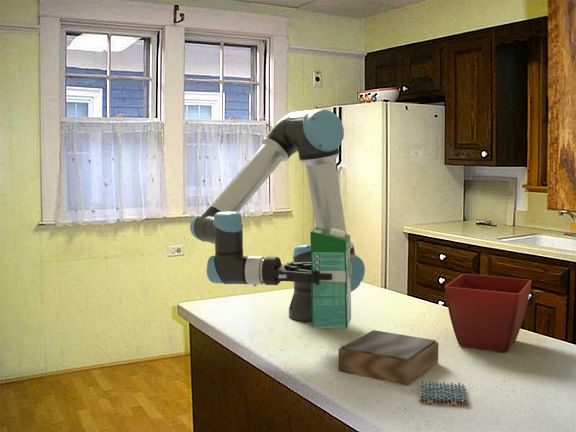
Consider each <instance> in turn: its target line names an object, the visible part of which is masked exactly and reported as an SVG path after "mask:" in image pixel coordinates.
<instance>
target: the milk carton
mask: <svg viewBox="0 0 576 432" xmlns="http://www.w3.org/2000/svg"><path fill="white" fill-rule="evenodd" d="M309 233H310V238H309V239H310V244H311V271H318V272H319V273H320V271H346V282H321V281H320V280H319V285H315V283H311V290H312V321H311V327H312V328H326V329H328V328H329V329H348V328H349V324H350V322H351V320H352V292H351V263H350V241H351V234H348V233H347V234H345V231H343V230H340V229H335V228H331V230H328V229H324V228H321V227H316V226H315V227H314V228H313V229H312V230H311V231H310V232H309Z"/></svg>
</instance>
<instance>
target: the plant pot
mask: <svg viewBox="0 0 576 432" xmlns="http://www.w3.org/2000/svg"><path fill="white" fill-rule="evenodd" d="M531 287H532V280H531V279H525V278H518V277H517V278H516V277H515V278H514V277H506V276H505V277H504V276H494V275H484V274H483V275H481V274H471V273H462V274H460V275H459V276H457V277H456V278H454V279H453V280H452V281H450V282H448V283H447V284H445V285H444V289H445V298H446V304H447V309H448V314H449V317H450V318H449V319H450V322H451V326H452V329H453V332H454V334H455V335H454V336H455V338H456V341H457V343H458V345H459V346H460V347H465V348H472V349H479V350H486V351H494V352H499V353H500V352H501V353H507V352H509V351H510V349H511V347H512V346H513V345H514V344H515V342H516V340H517V339H518V335H519V333H520V330H521V328H522V327H521V326H522V325H523V324H522V323H523V321H524V318H525V314H526V310H527V308H528V307H527V306H528V303H529V298H530V293H531Z"/></svg>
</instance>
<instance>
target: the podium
mask: <svg viewBox="0 0 576 432" xmlns="http://www.w3.org/2000/svg"><path fill="white" fill-rule="evenodd" d="M337 351H338V355H337V357H338V359H337V360H338V368H337V370H338V372H340V373H345V374H350V375H355V376H360V377H364V378H369V379H373V380H379V381H385V382H388V383H391V384H393V383H394V384H399V385H402V386H410V385H411V384H412V383H414V382H415V381H417V380H418V379H419V378H420V377H422V376H424V375H425V374H426V373H427V372H428V371H430V370H431V369H433V368H434V367H435V366H437V365H438V364H439V341H437V340H436V339H430V338H424V337H418V336H417V337H416V336H412V335H405V334H400V333H393V332H387V331H382V330H375V329H374V330H371V331H369V332H368V333H365V334H363V335H361V336H359V337H358V338H356V339H354V340H352V341H350V342H348V343H346V344H343V345H342V346H340V348H338V349H337Z"/></svg>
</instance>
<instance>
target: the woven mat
mask: <svg viewBox="0 0 576 432" xmlns="http://www.w3.org/2000/svg"><path fill="white" fill-rule="evenodd" d="M420 382H421V383H419V385H418V388H419V390H418V392H419V394H418V398H419V399H418V401H419V402H420V403H419V404H420V405H430V406H431V405H433V406H435V405H436V406H446V405H450V406H453V407H455V406H456V407H462V406H464V407H463V408H465V406H466V407H467V408H470V405H469V404H470V402H469V401H470V399H469V397H468V396H469V395H468V392H467V388H466V385H464V383H463V384H461V383H460V382H458V383H454V384H453V382H450V384H449V383H446V382H445V381H443V384H442V383H439V382H438V381H436V382H432V383H431V381H428V383H427V381H426V382H425V383H424V381H422V380H421V381H420ZM462 400H463V401H462ZM448 403H449V404H448ZM462 404H463V405H462ZM450 406H449V407H450Z"/></svg>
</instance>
